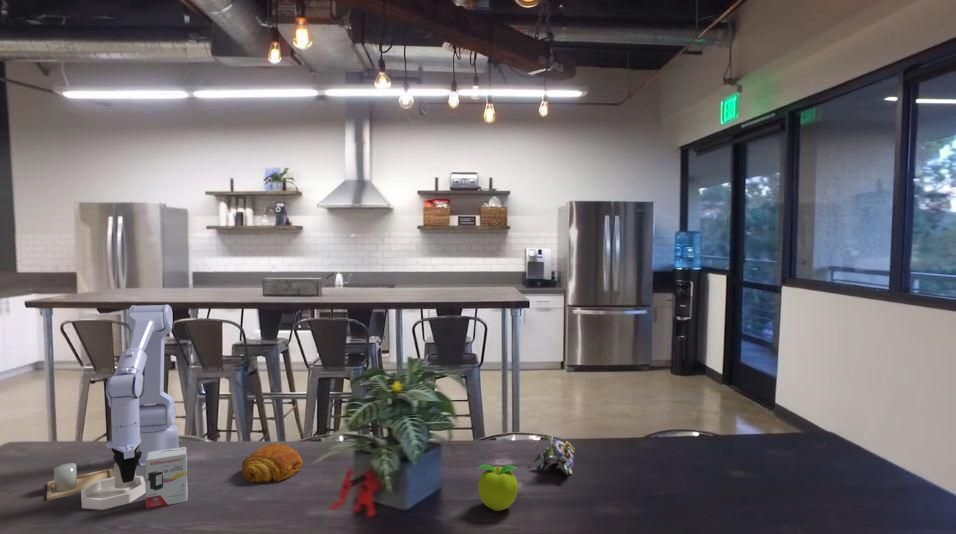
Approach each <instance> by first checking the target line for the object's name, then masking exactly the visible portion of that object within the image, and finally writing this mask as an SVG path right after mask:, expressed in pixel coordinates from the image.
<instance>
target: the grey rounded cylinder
mask: <svg viewBox="0 0 956 534" xmlns="http://www.w3.org/2000/svg"><path fill="white" fill-rule="evenodd" d="M113 472H114V481H115V488H117V489H123V488H128V487H131V486H133V485H135V484H136V476H137V470H136V471H135V476H134V480H133V481H131V482H127V483H123V481H122V478H121V473H120V469H119V467H118V465H117V463H116V462H115V463H114V464H113Z"/></svg>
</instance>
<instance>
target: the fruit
mask: <svg viewBox="0 0 956 534" xmlns="http://www.w3.org/2000/svg"><path fill="white" fill-rule="evenodd" d="M477 468H478V469H485V470H484V471H483V472H482V474H481V475H480V476H479V479H478V485H477V486H478V487H477V488H478V494H479V498H480V499H481V501H482V502H483V504H484V505H485V506H486V507H487V508H489V509H491V510H492V511H496V512H501V511H504V510H507V509H508V508H509V507H511V505H512V504H513V503H514V502H515V500H516V498H517V495H518V482H517V478H516V476H515V475H514V473H513V472H512V471H513V470H515V469H517V467H516V466H513V465H510V464H509V465H508V464H506V465H504V466H503V467H502V466H499V465H497V466H494V467H493V466H491V465H490V464H484V463H483V464H480V465H479V466H478V467H477Z"/></svg>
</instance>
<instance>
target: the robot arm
mask: <svg viewBox="0 0 956 534" xmlns="http://www.w3.org/2000/svg"><path fill="white" fill-rule="evenodd" d="M173 314H174V313H173V309H172V306H170V304H160V305H156V304H155V305H134V304H133V305H131V306H130V307H129V308H128V311H127V314H126V320H127V325H128V326H129V329H130V331H131V332H130V333H131V334H130V338H129V343H128V347H127V348H128V349H125V350H124V351H122V352H121V354H120V357H119V360H118V362H117V365H116V368H115V372H114V375H112V377H109V378H108V379H107V382H106V386H105V394H106V397H107V401H108V407H109V408H110V415H111V417H110V419H111V422H110V423H111V442H108V443H106V444H105V447H106V449H111V452H112V453H113V454H114V455H113V460H114V462H115V463H117V465H118V467H119V469H120V473H121V478H122V481H123V483H127V482H131V481H133V480H134V476H135V471H136V472H137V465H138V463H139V466H141V467H143V466H146V454H147V453H149V452H152V451H159V450H166V449H173V448H180V445H179V443H180V442H179V430H178V425H177V424H174V423H175V420H176V416H177V415H176V413H177V411H176V405H175V403H176V402H175V399H174V397H173V396H171V395H169V394H168V393H167V392H165V391H164V387H165V385H164V383H165V380H164V379H165V341H166V336H167V335H168V334H170V333H172V329H173V317H174V316H173ZM143 373H144V375H143ZM143 383H144V384H143ZM143 385H144V388H143ZM143 389H144V391H143ZM142 391H143V395H142ZM141 395H142V396H141ZM138 448H139V451H137V449H138Z"/></svg>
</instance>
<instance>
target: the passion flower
mask: <svg viewBox="0 0 956 534" xmlns="http://www.w3.org/2000/svg"><path fill="white" fill-rule="evenodd" d="M547 439H548V442H549V445H550V449H549V447H546V448H545V450H544V452H542V453H541V452H540V450H539V445H538V444H535V446H534V447H535V449H536V451H537V452H538V456H537V457H535V458H534V461H533V463H536V462H537V461H539V460H540V459H541V464H540V469H539V471H540V470H541V471H542V469H543V467H545V466H547V463H548V462H550V461H551V460H554V461H555V463H556V464H558V463H560V464H561V465H560V468H561V470H562V472H563V473H564V474H565V475H566V476H568V475H569V474H573V471H572V468H573V467H574V463H575V462H574V461H575V460H574V458H575V456H574V454H577V453H576V449H575V447H573V446H572V443H571V440H566V441H565V443H564V442H563V441H562V440H561V439H557V438H556V437H554V436H553V435H551V436H549V435H547ZM573 453H574V454H573Z"/></svg>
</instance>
